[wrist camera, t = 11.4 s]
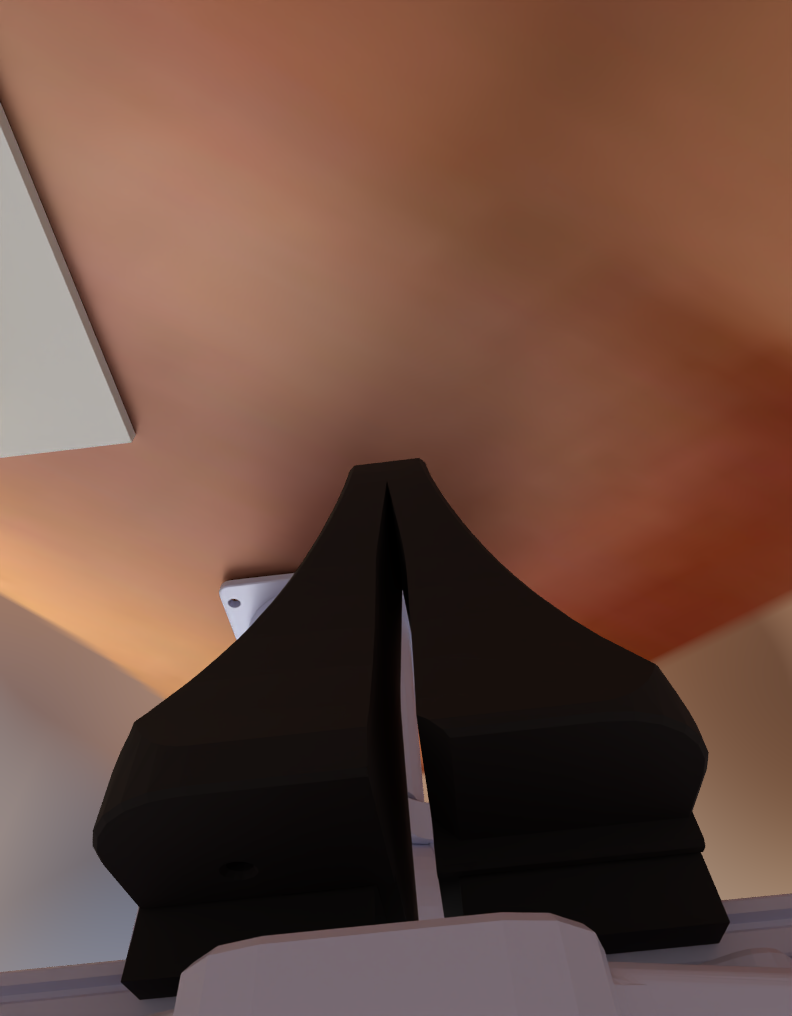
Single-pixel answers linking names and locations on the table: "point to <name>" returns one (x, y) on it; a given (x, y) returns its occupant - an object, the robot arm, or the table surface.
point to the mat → (46, 333)
